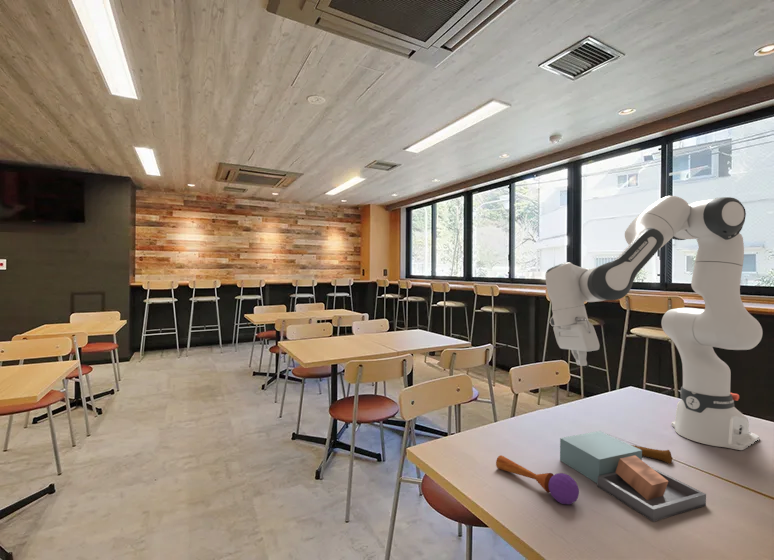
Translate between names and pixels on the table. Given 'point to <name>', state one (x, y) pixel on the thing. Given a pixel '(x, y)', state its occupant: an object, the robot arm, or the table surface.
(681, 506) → the box
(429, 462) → the table surface
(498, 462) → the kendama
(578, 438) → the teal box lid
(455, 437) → the table surface
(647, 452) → the primitive tool
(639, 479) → the terracotta block
